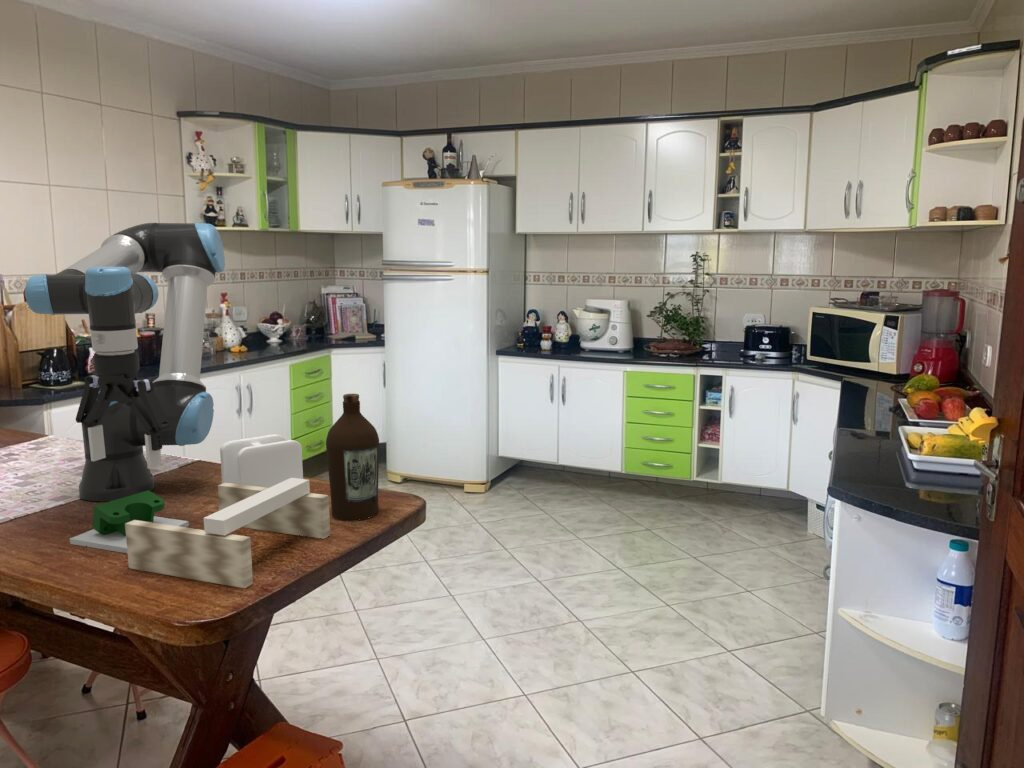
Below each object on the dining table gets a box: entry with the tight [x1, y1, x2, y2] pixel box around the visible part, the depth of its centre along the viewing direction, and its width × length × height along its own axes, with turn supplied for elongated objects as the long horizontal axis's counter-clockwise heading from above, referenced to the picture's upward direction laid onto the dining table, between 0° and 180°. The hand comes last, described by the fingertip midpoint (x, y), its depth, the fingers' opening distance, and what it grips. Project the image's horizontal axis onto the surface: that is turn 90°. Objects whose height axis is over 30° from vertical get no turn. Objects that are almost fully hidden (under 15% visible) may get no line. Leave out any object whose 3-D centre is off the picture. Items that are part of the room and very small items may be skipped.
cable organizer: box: [219, 433, 304, 488], centre depth 176 cm, size 15×11×12 cm
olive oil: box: [325, 393, 380, 521], centre depth 159 cm, size 11×11×25 cm
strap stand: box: [125, 482, 331, 589], centre depth 141 cm, size 24×25×8 cm
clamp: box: [92, 490, 165, 536], centre depth 149 cm, size 12×6×9 cm, turn 142°
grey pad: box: [69, 515, 190, 554], centre depth 149 cm, size 14×15×1 cm
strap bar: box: [203, 478, 311, 536], centre depth 138 cm, size 4×24×2 cm, turn 161°
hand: (126, 463), depth 147 cm, fingers open, 13 cm apart
